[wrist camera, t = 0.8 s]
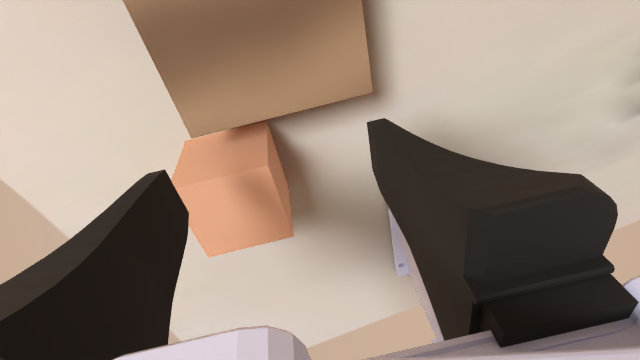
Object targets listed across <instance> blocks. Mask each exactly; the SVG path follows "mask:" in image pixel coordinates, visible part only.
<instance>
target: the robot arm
mask: <svg viewBox="0 0 640 360" xmlns="http://www.w3.org/2000/svg"><path fill="white" fill-rule="evenodd" d="M367 127H368V135H369V144H370V152H371V160H372V168H373V172H374V175H375V178H376V181H377V183H378V186H379V189H380V191H381V194H382V195H383V197H384V199H385V201H386V203H387V205H388V214H389V222H390V230H391V238H392V247H393V255H394V263H395V271H396V274H397V275H398V276H405V275H410V278H411V280H412V282H413V285H414V287H415V289H416V292H417V294H418V296H419V299H420V301H421V303H422V306H423V308H424V310H425V313H426V315H427V318H428V320H429V322H430V325H431V327H432V329H433V331H434V333H435V335H436V337H435V338H434V339H433V340H432V342H433V344H428V345H424V346H420V347H416V348H411V349H407V350H403V351H399V352H394V353H390V354H385V355H381V356H377V357H372V358H368V359H364V360H640V276H638V277H635V278H633V279H630V280H629V281H627V282H626V283H624V284H623V286H622V285H621V284H620V283H619V282H618V281H617V280H616V279H615V278H614V277H613V276H612V275H611V274H610V273H613V272H614V270H615V269H614V266H613V264H612V263H611V262H610V261H609V260H607V259H606V258H605V257H604V256H603V252H604V250H605V248H606V246H607V243H608V241H609V239H610V237H611V234H612V232H613V230H614V228H615V224H616V220H617V216H618V212H617V205H616V203H615V202H614V201H613V199H612V198H611V197H610V196H609V195H607V194H606V193H605V192H603V191H602V190H601V189H600V188H598V187H597V186H596V185H594V184H593V183H592V182H590V181H589V180H588V179H587V178H585V177H584V176H582V175H581V174H569V173H557V172H544V171H535V170H528V169H521V168H514V167H509V166H504V165H498V164H494V163H490V162H486V161H481V160H478V159H474V158H470V157H467V156H464V155H461V154H458V153H455V152H452V151H449V150H447V149H444V148H442V147H439V146H437V145H435V144H433V143H430V142H428V141H426V140H424V139H422V138H420V137H418V136H416V135H414V134H412V133H410V132H408V131H406V130H405V129H403V128H401V127H399V126H398V125H396V124H394V123H392V122H390V121H389V120H387V119H385V118H383V119H379V120H374V121H370V122H367ZM188 224H189V212H188V210H187V208H186V206H185V205H184V203H183V201H182V199H181V197H180V196H179V194H178V192H177V190H176V189H175V187H174V185H173V183H172V181H171V180H170V178H169V176H168V174H167V172H166V171H165V170H161V171H157V172H153V173H148V174H147V175H145V176H144V177H142V178H141V179H140V180H139V181H137V182H136V183H135V184H134V185H133V186H132V187H130V188H129V189H128V190H127V191H126V192H125V193H124V194H123V195H122V196H120V197H119V198H118V199H117V200H116V201H115V202H114V203H113V204H112V205H111V206H109V207H108V208H107V209H106V210H105V211H104V212H103V213H101V214H100V215H99V216H98V217H97V218H96V219H94V220H93V221H92V222H91V223H90V224H88V225H87V226H86V227H85V228H84V229H83V230H81V231H80V232H79V233H78V234H76V235H75V236H74V237H72V238H71V239H70V240H69V241H67V242H66V243H65V244H63V245H62V246H60V247H59V248H58V249H56V250H55V251H53V252H52V253H51V254H49V255H48V256H46V257H45V258H43V259H41V260H40V261H38V262H37V263H35V264H34V265H32V266H30V267H29V268H27V269H26V270H24V271H22V272H21V273H19V274H18V275H16V276H15V277H13V278H11V279H10V280H8V281H6V282H4V283H3V284H1V285H0V360H311V359H310V356H309V354H308V352H307V349H306V347H305V345H304V344H303V343H302V342H301V341H300V340H299V339H298V338H296V337H295V336H294V335H293V334H292V333H290V332H289V331H286V330H282V329H278V328H273V327H269V326H257V327H244V328H237V329H233V330H229V331H224V332H220V333H216V334H211V335H207V336H203V337H198V338H194V339H190V340H186V341H181V342H177V343H173V344H168V336H169V326H170V317H171V309H172V302H173V297H174V291H175V287H176V283H177V279H178V275H179V271H180V267H181V263H182V258H183V254H184V250H185V246H186V241H187V236H188Z"/></svg>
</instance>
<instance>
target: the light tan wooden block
mask: <svg viewBox="0 0 640 360" xmlns="http://www.w3.org/2000/svg"><path fill="white" fill-rule="evenodd" d="M123 2H124V4H125V6H126V8H127V10H128V12H129V14H130V16H131V18H132V20H133V22H134V24H135V26H136V28H137V30H138V32H139V34H140V36H141V38H142V40H143V42H144V44H145V46H146V48H147V50H148V52H149V54H150V56H151V58H152V60H153V62H154V64H155V66H156V68H157V70H158V72H159V74H160V76H161V78H162V80H163V82H164V84H165V86H166V88H167V90H168V92H169V94H170V96H171V98H172V100H173V102H174V104H175V106H176V108H177V110H178V112H179V114H180V116H181V118H182V120H183V122H184V124H185V126H186V128H187V130H188V132H189V134H190V136H191V138H196V137H199V136H203V135H207V134H211V133H215V132H219V131H223V130H227V129H231V128H235V127H239V126H243V125H247V124H251V123H254V122H258V121H262V120H266V119H270V118H274V117H278V116H282V115H286V114H290V113H294V112H298V111H302V110H306V109H309V108H313V107H317V106H321V105H325V104H329V103H333V102H337V101H341V100H345V99H349V98H353V97H357V96H361V95H365V94H368V93H372V92H373V89H372V80H371V72H370V64H369V56H368V48H367V40H366V32H365V24H364V15H363V7H362V0H123Z"/></svg>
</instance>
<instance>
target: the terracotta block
mask: <svg viewBox="0 0 640 360" xmlns="http://www.w3.org/2000/svg"><path fill="white" fill-rule="evenodd" d="M171 181H172V183H173V185H174V187H175V189H176V190H177V192H178V194H179V196H180V197H181V199H182V201H183V203H184V205H185V206H186V208H187V210H188V212H189V224H188V225H189V226H190V228H191V230H192V231H193V233H194V235H195V236H196V238H197V239H198V241H199V243H200V244H201V246H202V248H203V249H204V251H205V253H206V254H207V256H208V257H212V256H216V255H220V254H224V253H228V252H232V251H236V250H240V249H244V248H248V247H252V246H256V245H260V244H264V243H269V242H273V241H277V240H281V239H285V238H289V237H293V236H294V235H293V225H292V216H291V206H290V197H289V187H288V183H287V180H286V177H285V174H284V171H283V168H282V165H281V162H280V159H279V156H278V153H277V150H276V147H275V144H274V141H273V138H272V135H271V132H270V129H269V126H268V123H267V120H266V121H262V122H258V123H254V124H250V125H246V126H242V127H238V128H234V129H231V130H227V131H223V132H219V133H215V134H211V135H207V136H203V137H199V138H195V139H191V140H187V141H185V144H184V147H183V149H182V152H181V155H180V158H179V161H178V163H177V166H176V169H175V172H174V175H173V177H172V180H171Z"/></svg>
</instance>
